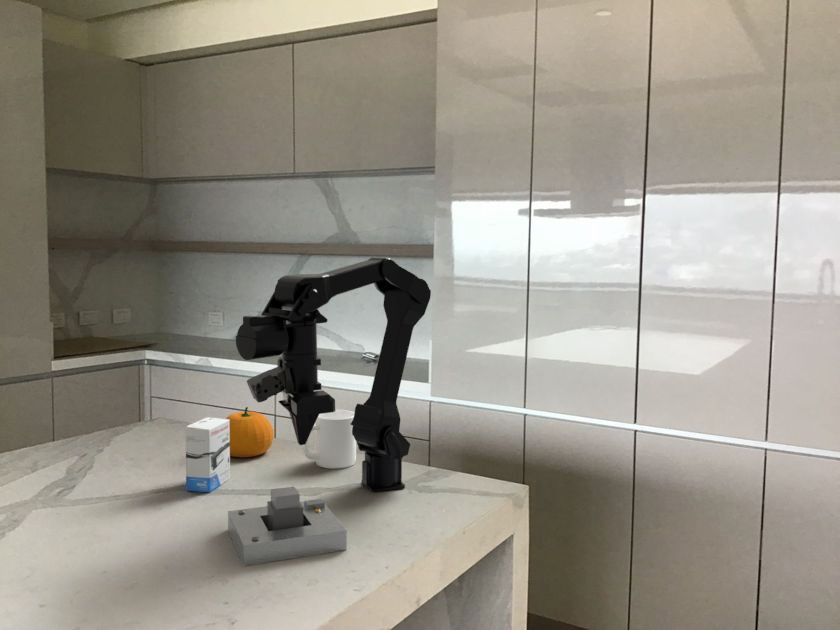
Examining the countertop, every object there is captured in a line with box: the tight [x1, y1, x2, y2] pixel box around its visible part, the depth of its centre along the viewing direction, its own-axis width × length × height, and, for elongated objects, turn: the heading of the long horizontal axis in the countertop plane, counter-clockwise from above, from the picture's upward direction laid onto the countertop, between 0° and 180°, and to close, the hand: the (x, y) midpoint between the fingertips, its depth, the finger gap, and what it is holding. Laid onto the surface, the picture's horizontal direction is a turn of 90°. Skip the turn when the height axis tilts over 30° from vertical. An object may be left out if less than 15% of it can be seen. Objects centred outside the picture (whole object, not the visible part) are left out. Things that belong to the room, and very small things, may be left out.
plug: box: [266, 486, 303, 531], centre depth 113 cm, size 4×4×7 cm
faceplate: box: [227, 498, 348, 567], centre depth 114 cm, size 15×14×4 cm
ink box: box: [184, 416, 231, 493], centre depth 138 cm, size 8×5×12 cm, turn 168°
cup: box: [301, 409, 357, 470], centre depth 151 cm, size 8×12×10 cm
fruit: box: [225, 406, 275, 458], centre depth 158 cm, size 12×12×10 cm
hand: (301, 444), depth 125 cm, fingers closed
